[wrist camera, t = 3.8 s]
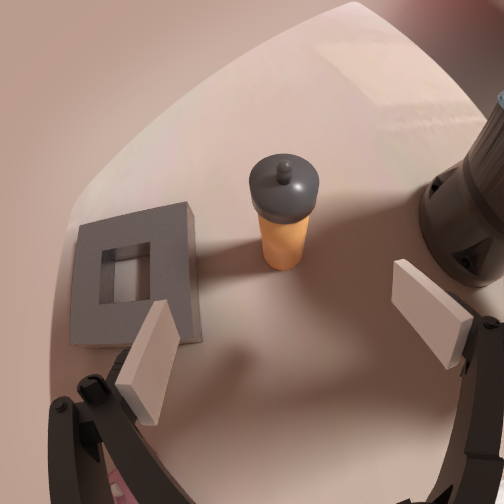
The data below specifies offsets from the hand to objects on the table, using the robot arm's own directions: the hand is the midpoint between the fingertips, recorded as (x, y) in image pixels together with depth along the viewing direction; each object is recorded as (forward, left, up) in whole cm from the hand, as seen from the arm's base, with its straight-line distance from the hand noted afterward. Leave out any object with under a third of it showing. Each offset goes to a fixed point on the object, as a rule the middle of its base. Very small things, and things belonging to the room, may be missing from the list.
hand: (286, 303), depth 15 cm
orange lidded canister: (-1, -8, -12) cm, 14 cm away
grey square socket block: (+15, -7, -12) cm, 20 cm away
